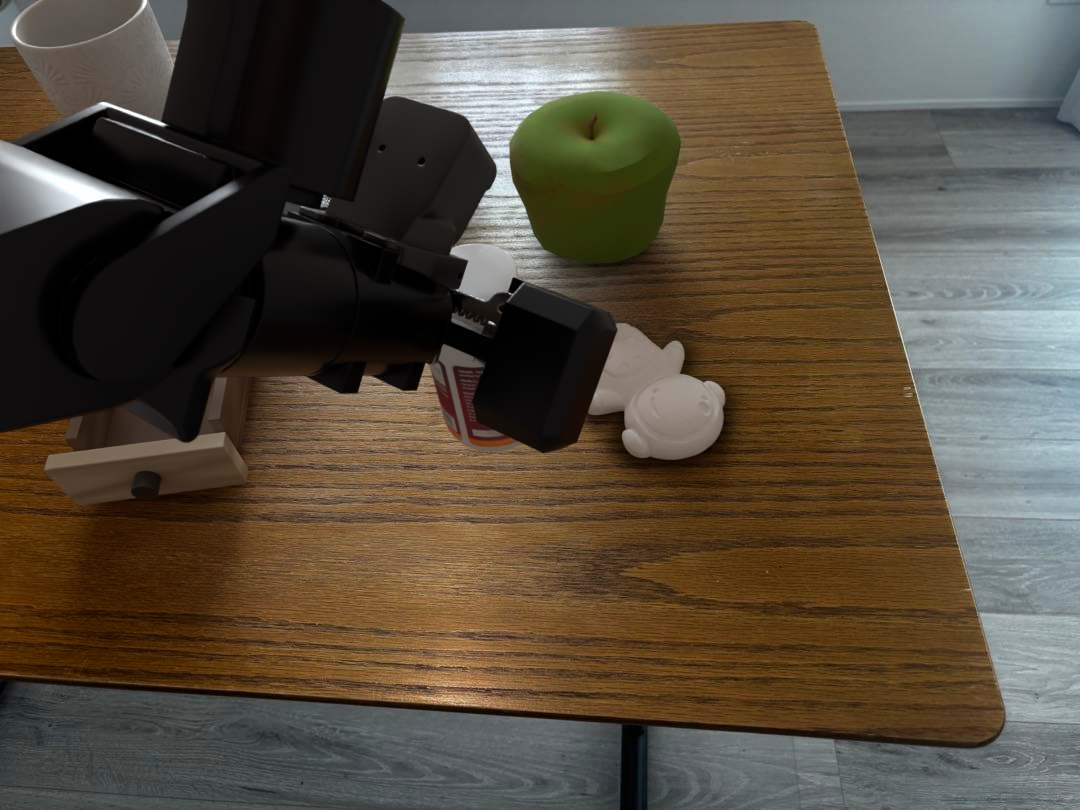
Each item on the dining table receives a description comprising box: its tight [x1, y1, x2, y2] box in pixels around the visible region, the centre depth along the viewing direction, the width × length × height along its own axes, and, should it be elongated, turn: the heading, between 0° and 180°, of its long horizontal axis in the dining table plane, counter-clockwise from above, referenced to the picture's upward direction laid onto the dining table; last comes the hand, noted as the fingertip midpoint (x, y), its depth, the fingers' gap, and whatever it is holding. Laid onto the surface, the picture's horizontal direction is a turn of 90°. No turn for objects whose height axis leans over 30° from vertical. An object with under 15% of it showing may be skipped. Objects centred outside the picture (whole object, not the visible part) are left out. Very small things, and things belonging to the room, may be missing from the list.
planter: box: [9, 0, 175, 121], centre depth 81 cm, size 12×12×11 cm
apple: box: [508, 90, 682, 265], centre depth 64 cm, size 12×12×11 cm
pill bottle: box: [428, 243, 523, 453], centre depth 45 cm, size 6×6×11 cm
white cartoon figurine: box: [587, 322, 726, 461], centre depth 57 cm, size 9×12×3 cm
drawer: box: [43, 377, 253, 506], centre depth 59 cm, size 19×11×4 cm, turn 6°
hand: (496, 320), depth 45 cm, fingers closed on pill bottle, 6 cm apart
